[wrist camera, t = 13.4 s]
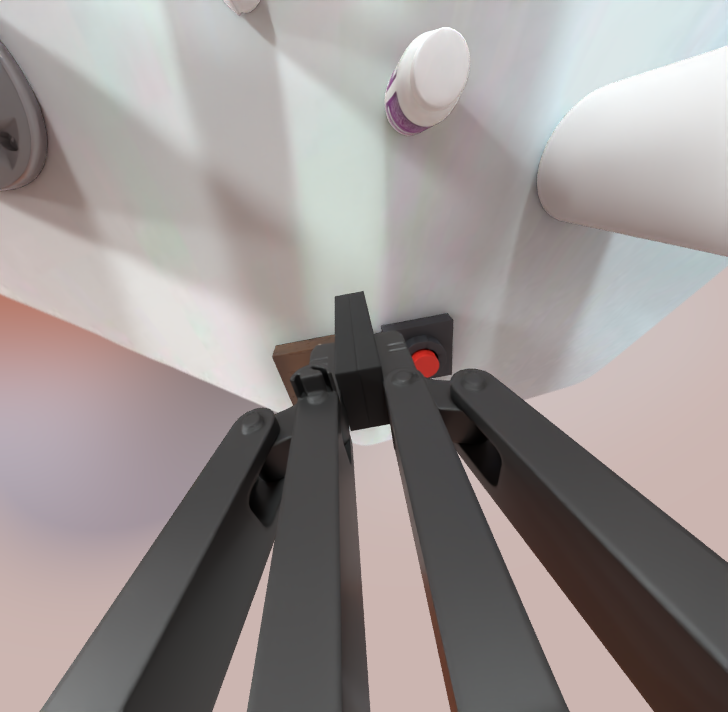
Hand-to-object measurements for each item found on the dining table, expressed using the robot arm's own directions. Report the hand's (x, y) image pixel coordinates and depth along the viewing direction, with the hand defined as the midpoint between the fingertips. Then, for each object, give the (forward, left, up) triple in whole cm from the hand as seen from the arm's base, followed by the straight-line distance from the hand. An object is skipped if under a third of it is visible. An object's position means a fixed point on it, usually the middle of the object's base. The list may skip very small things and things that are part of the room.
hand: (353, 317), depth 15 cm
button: (+8, -18, -19) cm, 27 cm away
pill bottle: (+9, +11, -23) cm, 27 cm away
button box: (+8, -18, -22) cm, 30 cm away
